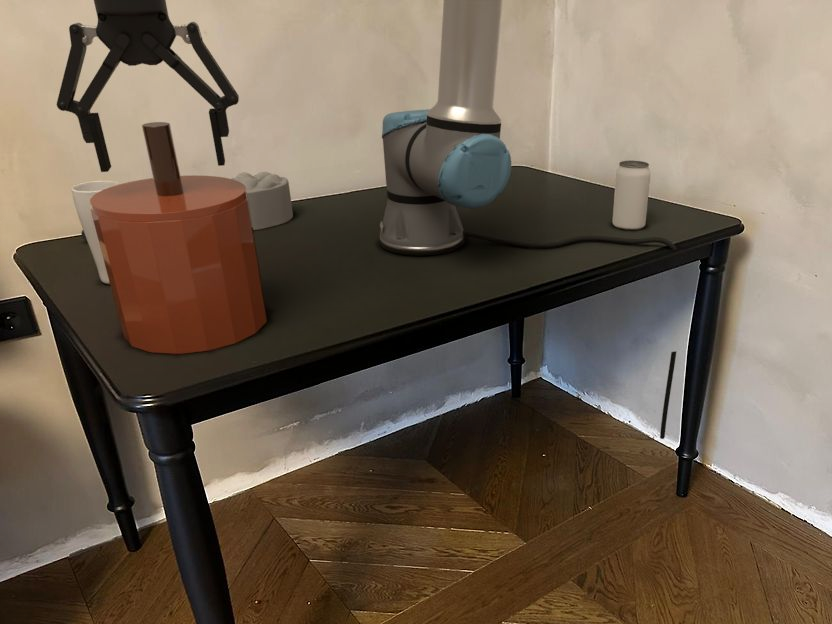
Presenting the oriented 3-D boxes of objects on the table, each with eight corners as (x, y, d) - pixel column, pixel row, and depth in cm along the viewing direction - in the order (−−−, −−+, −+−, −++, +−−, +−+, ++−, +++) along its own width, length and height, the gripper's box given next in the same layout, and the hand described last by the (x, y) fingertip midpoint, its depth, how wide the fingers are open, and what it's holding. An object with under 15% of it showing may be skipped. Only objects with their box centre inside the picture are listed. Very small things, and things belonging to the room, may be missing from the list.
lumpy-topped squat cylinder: (218, 221, 148) (210, 177, 144) (274, 207, 157) (268, 165, 153) (248, 232, 142) (241, 186, 138) (305, 217, 151) (300, 173, 147)
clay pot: (265, 293, 117) (236, 109, 103) (267, 344, 101) (233, 135, 88) (134, 305, 112) (87, 114, 99) (115, 361, 96) (55, 143, 83)
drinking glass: (96, 290, 117) (70, 193, 109) (95, 276, 122) (70, 183, 115) (144, 283, 119) (121, 188, 112) (141, 269, 125) (119, 178, 117)
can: (630, 232, 145) (636, 169, 139) (605, 224, 149) (609, 163, 143) (652, 226, 148) (658, 164, 143) (627, 218, 153) (632, 158, 147)
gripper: (-10, -25, 79) (48, 179, 90) (240, -23, 86) (267, 167, 96) (9, -26, 86) (62, 165, 96) (241, -24, 92) (267, 154, 102)
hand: (165, 166), depth 96 cm, fingers open, 13 cm apart
